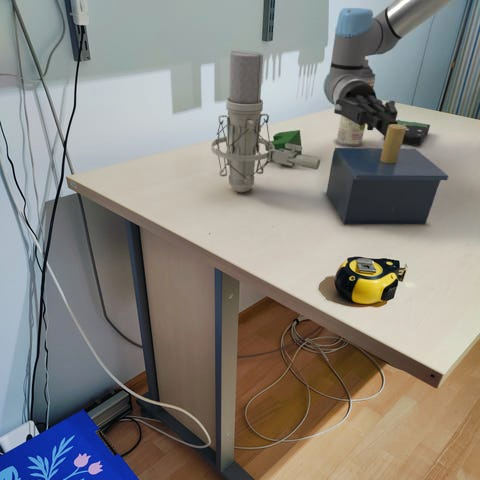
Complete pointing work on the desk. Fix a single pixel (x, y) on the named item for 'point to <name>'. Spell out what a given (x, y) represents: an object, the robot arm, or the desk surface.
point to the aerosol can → (348, 129)
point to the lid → (389, 160)
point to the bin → (379, 198)
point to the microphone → (249, 125)
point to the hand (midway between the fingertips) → (391, 129)
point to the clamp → (286, 141)
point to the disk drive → (414, 132)
